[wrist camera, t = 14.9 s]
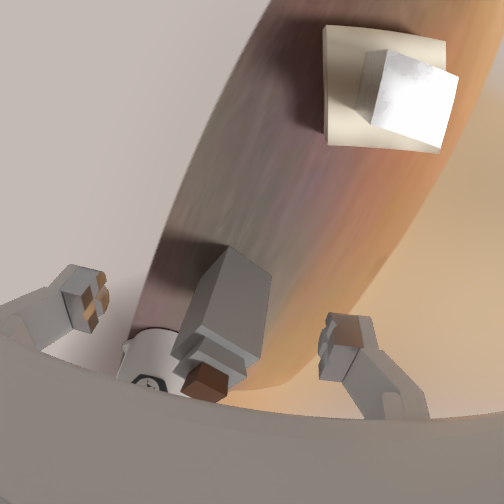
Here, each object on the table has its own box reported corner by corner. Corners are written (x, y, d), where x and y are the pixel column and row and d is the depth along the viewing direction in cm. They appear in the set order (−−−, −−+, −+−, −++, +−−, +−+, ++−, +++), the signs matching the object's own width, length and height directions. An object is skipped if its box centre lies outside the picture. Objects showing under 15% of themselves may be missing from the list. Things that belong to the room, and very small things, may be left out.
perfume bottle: (229, 245, 40) (188, 362, 25) (271, 275, 42) (254, 397, 27) (200, 277, 43) (156, 389, 28) (241, 304, 45) (214, 418, 30)
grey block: (410, 127, 25) (440, 147, 19) (353, 110, 25) (370, 124, 19) (424, 71, 22) (458, 77, 16) (366, 52, 22) (387, 49, 16)
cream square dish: (422, 141, 30) (439, 153, 26) (323, 133, 31) (327, 145, 27) (426, 43, 24) (445, 41, 20) (321, 31, 25) (326, 25, 21)
